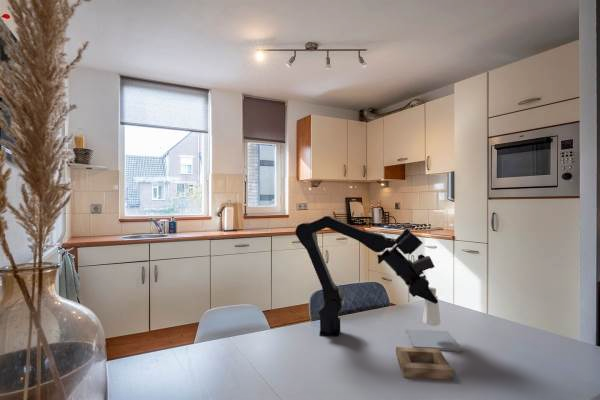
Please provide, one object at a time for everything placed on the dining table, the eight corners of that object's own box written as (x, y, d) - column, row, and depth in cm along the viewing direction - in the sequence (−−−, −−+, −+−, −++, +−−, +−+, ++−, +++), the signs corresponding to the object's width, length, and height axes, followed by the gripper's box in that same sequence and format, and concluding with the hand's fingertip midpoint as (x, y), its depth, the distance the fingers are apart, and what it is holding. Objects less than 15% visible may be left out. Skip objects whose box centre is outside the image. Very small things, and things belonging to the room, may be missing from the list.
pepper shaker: (438, 320, 106) (438, 286, 106) (442, 326, 101) (442, 290, 101) (421, 319, 107) (421, 285, 108) (424, 325, 102) (424, 289, 102)
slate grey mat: (413, 349, 99) (413, 346, 99) (405, 331, 113) (405, 329, 113) (462, 351, 97) (462, 348, 97) (447, 333, 111) (447, 330, 111)
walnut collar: (403, 376, 83) (403, 367, 83) (395, 355, 95) (395, 346, 95) (452, 380, 82) (452, 369, 82) (439, 357, 93) (439, 348, 94)
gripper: (421, 251, 96) (462, 291, 94) (415, 244, 115) (449, 277, 112) (393, 276, 98) (432, 316, 95) (392, 265, 116) (425, 298, 113)
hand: (435, 300), depth 104 cm, fingers closed on pepper shaker, 4 cm apart
